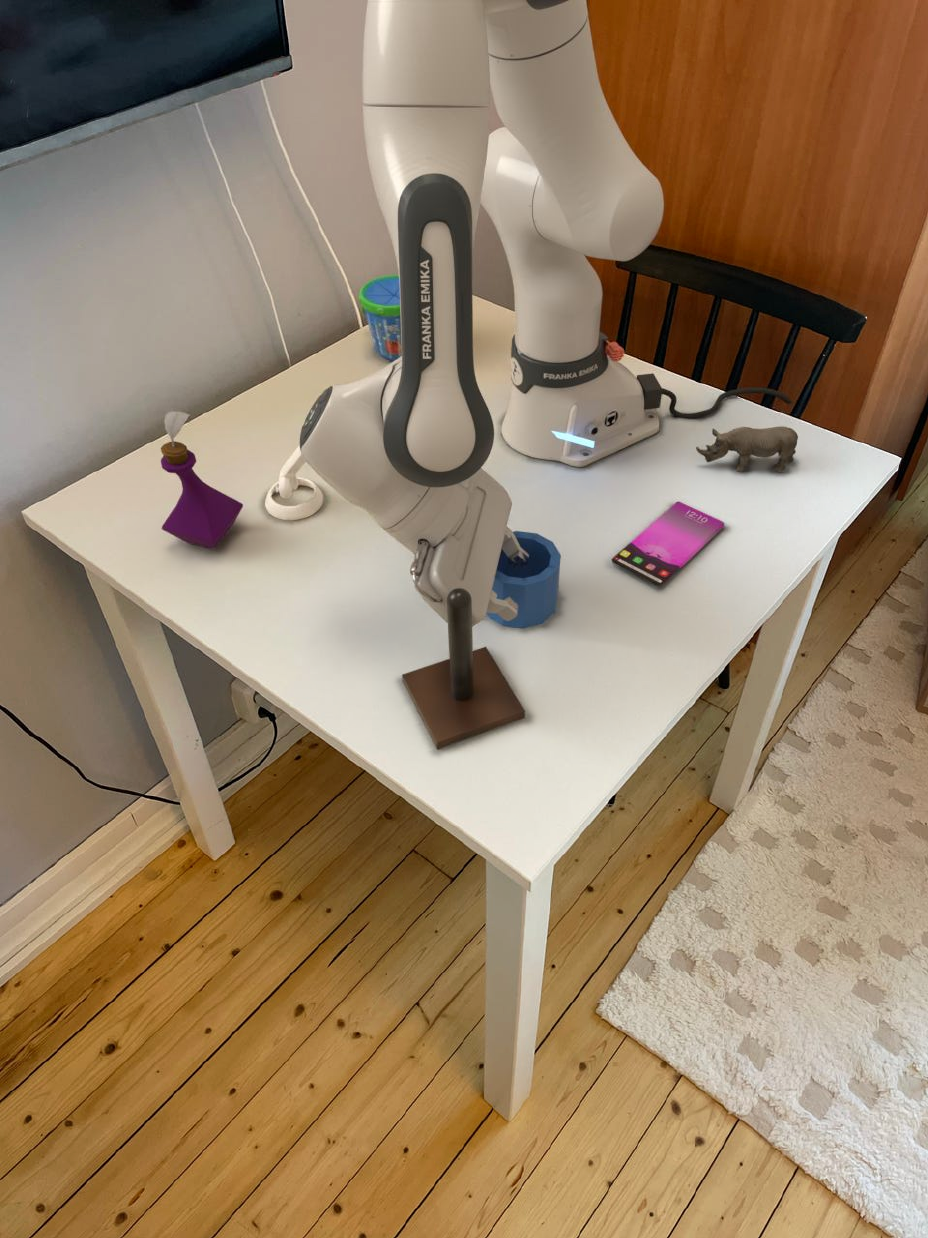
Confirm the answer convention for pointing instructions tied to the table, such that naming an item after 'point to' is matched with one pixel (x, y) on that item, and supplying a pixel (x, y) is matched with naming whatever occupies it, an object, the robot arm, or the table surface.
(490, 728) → the stand
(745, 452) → the rhino figurine
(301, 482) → the hook
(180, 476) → the perfume bottle
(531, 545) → the tape roll
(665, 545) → the smartphone
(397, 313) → the snack cup
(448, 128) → the robot arm
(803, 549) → the table surface
